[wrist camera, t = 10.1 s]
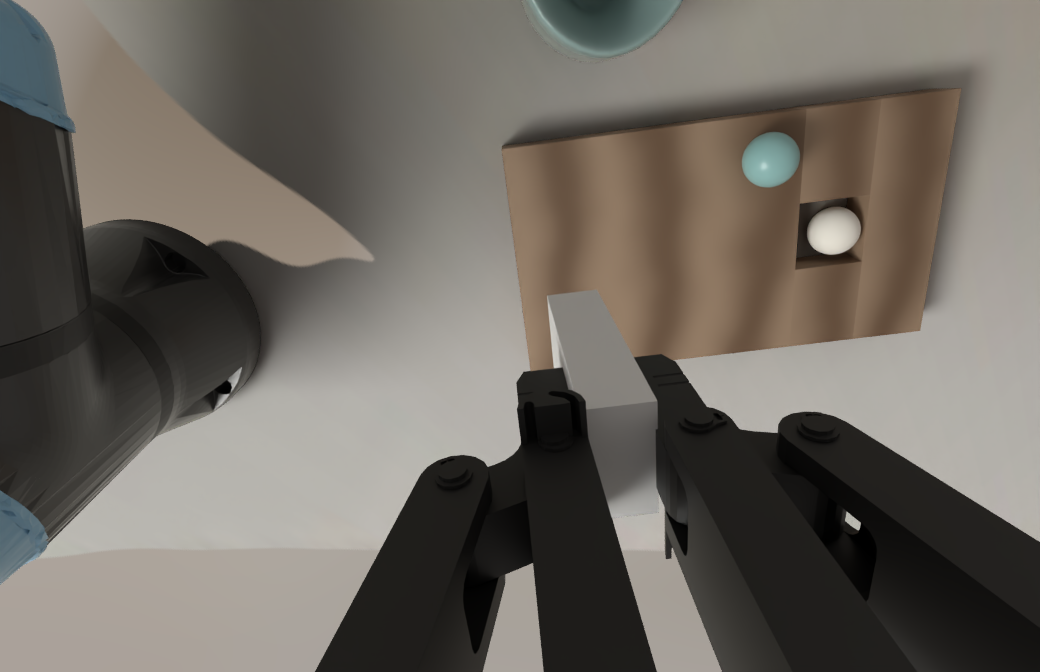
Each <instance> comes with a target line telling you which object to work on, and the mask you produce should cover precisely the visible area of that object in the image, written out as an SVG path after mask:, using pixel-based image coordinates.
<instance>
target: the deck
mask: <svg viewBox="0 0 1040 672" xmlns="http://www.w3.org/2000/svg"><path fill="white" fill-rule="evenodd" d="M960 93H961V88H951V89H927V90H920V91H912V92H904V93H897V94H889V95H882V96H874V97H867V98H859V99H852V100H844V101H837V102H829V103H822V104H814V105H807V106H799V107H792V108H784V109H777V110H769V111H762V112H754V113H746V114H739V115H731V116H724V117H716V118H709V119H701V120H694V121H686V122H679V123H671V124H664V125H656V126H649V127H641V128H634V129H626V130H619V131H611V132H604V133H596V134H588V135H581V136H573V137H566V138H558V139H551V140H543V141H536V142H528V143H521V144H513V145H506V146H502V156H503V163H504V171H505V178H506V186H507V194H508V201H509V209H510V217H511V224H512V232H513V239H514V247H515V255H516V262H517V270H518V278H519V285H520V293H521V300H522V308H523V316H524V323H525V331H526V339H527V346H528V354H529V361H530V369H531V371H536V370H544V369H552V368H554V365H553V354H552V344H551V333H550V322H549V312H548V301H547V296H548V295H556V294H564V293H573V292H581V291H589V290H597V291H598V293H599V294H600V296H601V298H602V300H603V302H604V304H605V305H606V307H607V309H608V311H609V313H610V315H611V316H612V318H613V320H614V322H615V324H616V326H617V327H618V329H619V331H620V333H621V335H622V337H623V339H624V340H625V342H626V344H627V346H628V348H629V350H630V351H631V353H632V355H633V357H640V356H649V355H657V354H662V355H664V356H666V357H668V358H669V359H671V360H678V359H686V358H695V357H703V356H712V355H720V354H729V353H737V352H745V351H754V350H762V349H771V348H779V347H787V346H796V345H804V344H813V343H821V342H830V341H838V340H846V339H855V338H863V337H872V336H880V335H888V334H897V333H905V332H914V331H920V328H921V322H922V316H923V310H924V304H925V298H926V292H927V287H928V281H929V275H930V269H931V263H932V257H933V251H934V246H935V240H936V234H937V228H938V222H939V216H940V211H941V205H942V199H943V193H944V187H945V181H946V175H947V170H948V164H949V158H950V152H951V146H952V140H953V134H954V129H955V123H956V117H957V111H958V105H959V99H960ZM768 132H780V133H784V134H787V135H788V136H790V137H791V138H792V139H793V140H794V141H795V142H796V144H797V145H798V148H799V151H800V161H799V165H798V168H797V170H796V171H795V173H794V174H793V176H792V177H791V178H790V179H789V180H787V181H786V182H784V183H783V184H781V185H778V186H775V187H760V186H757V185H755V184H753V183H752V182H750V181H749V180H748V179H747V178H746V176H745V174H744V172H743V169H742V157H743V154H744V151H745V149H746V147H747V146H748V145H749V143H750V142H751V141H752V140H754V139H755V138H756V137H758V136H760V135H762V134H765V133H768ZM840 198H848V200H847V209H848V210H850V211H852V212H853V213H854V214H855V215H856V216H857V217H858V219H859V221H860V225H861V232H860V236H859V238H858V240H857V242H856V243H855V244H854V245H853V246H852V247H851V248H850V249H849V250H847V251H845V252H843V253H840V254H834V255H829V254H823V255H815V256H807V257H799V258H796V251H797V237H798V223H799V209H800V204H801V203H809V202H816V201H824V200H832V199H840Z"/></svg>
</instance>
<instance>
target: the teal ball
mask: <svg viewBox="0 0 1040 672" xmlns="http://www.w3.org/2000/svg"><path fill="white" fill-rule="evenodd" d="M799 161H800V151H799V148H798V145H797V144H796V142H795V141H794V140H793V139H792V138H791V137H790V136H788V135H787V134H784V133H780V132H768V133H765V134H762V135H760V136H758V137H756V138H755V139H754V140H752V141H751V142H750V143H749V145H748V146H747V147H746V149H745V151H744V154H743V157H742V169H743V172H744V174H745V176H746V178H747V179H748V180H749V181H750V182H752V183H753V184H755V185H757V186H760V187H775V186H778V185H781V184H783V183H784V182H786V181H787V180H789V179H790V178H791V177H792V176H793V174H794V173H795V171H796V170H797V168H798V165H799Z"/></svg>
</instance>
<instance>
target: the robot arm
mask: <svg viewBox="0 0 1040 672" xmlns="http://www.w3.org/2000/svg"><path fill="white" fill-rule="evenodd" d="M75 132H76V131H75V125H74V123H73V121H72V120H71V119H70V118H69V117H68V115H67V111H66V107H65V102H64V96H63V92H62V86H61V80H60V75H59V70H58V64H57V59H56V54H55V50H54V46H53V44H52V41H51V39H50V37H49V36H48V34H47V32H46V31H45V29H44V28H43V26H42V25H41V24H40V23H39V22H38V21H37V19H36V18H35V17H34V16H33V15H31V14H30V13H29V12H28V11H27V10H25V9H24V8H23V7H21V6H20V5H18V4H17V3H16V2H14V1H12V0H0V585H1V584H2V583H3V582H4V581H5V580H6V579H8V578H9V577H10V576H11V575H12V574H13V573H14V572H16V571H17V570H18V569H19V568H20V567H21V566H23V565H24V564H27V563H28V562H30V561H32V560H35V559H36V558H38V557H39V556H40V555H41V554H42V553H43V552H44V550H45V549H46V547H47V545H48V544H49V543H50V542H51V541H52V540H53V539H54V538H55V537H56V536H57V535H58V534H59V533H60V532H61V531H62V530H63V529H64V528H65V527H66V526H67V525H68V524H69V523H70V522H71V521H72V520H73V519H74V518H75V517H76V516H77V515H78V514H79V513H80V512H81V511H82V510H83V509H84V508H85V507H86V506H87V505H88V504H89V503H90V502H91V501H92V500H93V499H94V498H95V497H96V496H97V495H98V494H99V493H100V492H101V491H102V490H103V489H104V488H105V487H106V486H107V485H108V484H109V483H110V482H111V481H112V480H113V479H114V478H115V477H116V476H117V475H118V474H119V473H120V472H121V471H122V470H123V469H124V468H125V467H126V466H127V465H128V464H129V463H130V462H131V461H132V460H133V459H134V458H135V457H136V456H137V455H138V454H139V453H140V452H141V451H142V450H143V449H144V448H145V447H146V446H147V445H148V444H149V443H150V442H151V441H152V440H153V439H154V438H155V437H156V436H158V435H160V434H163V433H165V432H168V431H170V430H172V429H175V428H177V427H180V426H182V425H185V424H187V423H190V422H192V421H195V420H197V419H200V418H202V417H205V416H207V415H209V414H210V413H212V412H214V411H215V410H217V409H218V408H220V407H221V406H223V405H224V404H225V403H226V402H227V401H229V400H230V399H231V397H232V396H233V395H234V394H235V393H236V392H237V391H238V390H239V389H240V388H241V387H242V386H243V385H244V383H245V382H246V381H247V380H248V378H249V377H250V375H251V373H252V371H253V370H254V367H255V365H256V362H257V359H258V355H259V351H260V339H261V337H260V325H259V320H258V316H257V312H256V309H255V306H254V303H253V301H252V299H251V297H250V295H249V293H248V291H247V289H246V287H245V286H244V284H243V283H242V281H241V280H240V278H239V277H238V276H237V274H236V273H235V272H234V271H233V269H232V268H231V267H230V266H229V265H228V264H227V263H226V262H225V261H224V260H223V259H222V258H221V257H220V256H219V255H218V254H216V253H215V252H214V251H213V250H212V249H210V248H209V247H207V246H206V245H205V244H203V243H201V242H200V241H199V240H197V239H195V238H193V237H192V236H190V235H188V234H186V233H184V232H182V231H179V230H177V229H174V228H172V227H169V226H166V225H162V224H159V223H155V222H150V221H143V220H131V219H129V220H113V221H107V222H103V223H99V224H96V225H93V226H90V227H86V228H83V225H82V217H81V209H80V201H79V192H78V184H77V176H76V167H75V159H74V151H73V143H72V135H71V133H75ZM547 301H548V312H549V322H550V333H551V344H552V354H553V365H554V368H552V369H544V370H536V371H527V372H523V374H522V375H521V377H520V378H519V380H518V381H517V393H518V408H517V413H518V420H519V428H520V436H521V445H520V447H519V449H518V450H517V451H516V452H515V453H514V454H513V455H512V456H511V457H509V458H508V459H506V460H505V461H502V462H500V463H498V464H496V465H493V466H490V467H487V466H486V464H485V463H484V461H482V460H480V459H478V458H476V457H472V456H466V455H459V456H450V457H447V458H444V459H441V460H438V461H436V462H435V463H433V464H431V465H430V466H428V467H427V468H426V469H425V470H424V472H423V473H422V474H421V475H420V477H419V479H418V481H417V482H416V484H415V486H414V488H413V490H412V492H411V494H410V496H409V497H408V499H407V501H406V503H405V505H404V507H403V509H402V510H401V512H400V514H399V516H398V518H397V520H396V522H395V524H394V525H393V527H392V529H391V531H390V533H389V535H388V537H387V538H386V540H385V542H384V544H383V546H382V548H381V550H380V552H379V553H378V555H377V557H376V559H375V561H374V563H373V565H372V566H371V568H370V570H369V572H368V574H367V576H366V578H365V580H364V581H363V583H362V585H361V587H360V589H359V591H358V593H357V595H356V596H355V598H354V600H353V602H352V604H351V606H350V607H349V609H348V611H347V613H346V615H345V617H344V619H343V621H342V622H341V624H340V626H339V628H338V630H337V632H336V634H335V635H334V637H333V639H332V641H331V643H330V645H329V647H328V649H327V650H326V652H325V654H324V656H323V658H322V660H321V662H320V663H319V665H318V667H317V669H316V671H315V672H483V668H484V664H485V660H486V656H487V652H488V648H489V644H490V640H491V636H492V632H493V629H494V625H495V621H496V617H497V613H498V609H499V605H500V601H501V597H502V593H503V590H504V586H505V574H507V573H510V572H512V571H514V570H517V569H519V568H522V567H524V566H527V565H529V564H531V563H533V566H534V576H535V586H536V596H537V606H538V617H539V627H540V636H541V648H542V658H543V667H544V672H657V671H656V668H655V664H654V661H653V657H652V654H651V651H650V647H649V644H648V640H647V637H646V633H645V630H644V626H643V623H642V620H641V616H640V613H639V610H638V606H637V602H636V599H635V596H634V592H633V589H632V586H631V582H630V579H629V575H628V572H627V568H626V565H625V561H624V558H623V555H622V551H621V548H620V544H619V541H618V537H617V534H616V531H615V527H614V524H613V520H612V518H619V517H628V516H636V515H644V514H653V513H659V499H658V493H659V495H660V497H661V500H662V502H663V504H664V507H665V555H666V559H670V558H671V549H672V547H673V550H674V552H675V555H676V557H677V559H678V562H679V565H680V567H681V570H682V572H683V574H684V577H685V580H686V582H687V585H688V587H689V590H690V592H691V595H692V597H693V599H694V602H695V604H696V607H697V610H698V612H699V615H700V617H701V619H702V622H703V624H704V627H705V629H706V632H707V635H708V637H709V640H710V642H711V645H712V647H713V650H714V652H715V655H716V657H717V660H718V662H719V665H720V667H721V670H722V672H1040V542H1039V541H1037V540H1035V539H1034V538H1032V537H1031V536H1029V535H1027V534H1026V533H1024V532H1023V531H1021V530H1019V529H1018V528H1016V527H1015V526H1013V525H1011V524H1010V523H1008V522H1006V521H1005V520H1003V519H1002V518H1000V517H998V516H997V515H995V514H994V513H992V512H990V511H989V510H987V509H986V508H984V507H982V506H981V505H979V504H978V503H976V502H974V501H973V500H971V499H969V498H968V497H966V496H965V495H963V494H961V493H960V492H958V491H957V490H955V489H953V488H952V487H950V486H949V485H947V484H945V483H944V482H942V481H941V480H939V479H937V478H936V477H934V476H932V475H931V474H929V473H928V472H926V471H924V470H923V469H921V468H920V467H918V466H916V465H915V464H913V463H912V462H910V461H908V460H907V459H905V458H904V457H902V456H900V455H899V454H897V453H895V452H894V451H892V450H891V449H889V448H887V447H886V446H884V445H883V444H881V443H879V442H878V441H876V440H875V439H873V438H871V437H870V436H868V435H867V434H865V433H863V432H862V431H860V430H858V429H857V428H855V427H854V426H852V425H850V424H849V423H847V422H845V421H843V420H841V419H839V418H837V417H834V416H831V415H827V414H823V413H819V412H800V413H793V414H790V415H788V416H786V417H784V418H782V420H781V421H780V423H779V424H778V433H768V432H754V431H747V430H741V429H739V428H738V427H737V426H736V424H735V423H734V421H733V420H732V419H731V418H730V417H729V416H728V415H726V414H725V413H724V412H721V411H719V410H716V409H714V408H709V407H706V405H705V404H704V402H703V401H702V399H701V398H700V397H699V395H698V394H697V392H696V391H695V389H694V388H693V386H692V385H691V383H689V381H688V379H687V378H686V376H685V375H684V374H683V372H682V370H681V369H680V367H679V366H678V365H677V363H676V362H675V361H673V360H671V359H669V358H668V357H666V356H664V355H662V354H657V355H649V356H640V357H633V355H632V353H631V351H630V350H629V348H628V346H627V344H626V342H625V340H624V339H623V337H622V335H621V333H620V331H619V329H618V327H617V326H616V324H615V322H614V320H613V318H612V316H611V315H610V313H609V311H608V309H607V307H606V305H605V304H604V302H603V300H602V298H601V296H600V294H599V293H598V291H597V290H589V291H581V292H573V293H564V294H556V295H548V296H547ZM846 511H847V512H848V513H850V514H851V515H852V516H853V517H855V518H856V519H857V520H858V521H860V522H861V526H860V530H859V531H858V530H856V529H855V528H853V527H852V526H850V525H849V524H848V523H847V522H845V517H846Z"/></svg>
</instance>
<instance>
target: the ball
mask: <svg viewBox="0 0 1040 672" xmlns="http://www.w3.org/2000/svg"><path fill="white" fill-rule="evenodd" d="M860 232H861V225H860V221H859V219H858V217H857V216H856V215H855V214H854V213H853V212H852V211H850V210H848V209H846V208H843V207H829V208H826V209H824V210H822V211H820V212H818V213H817V214H816V215H815V216H814V217H813V218H812V219H811V221H810V222H809V225H808V228H807V238H808V241H809V243H810V244H811V246H812V247H813V248H814V249H815V250H817V251H818V252H820V253H823V254H829V255H834V254H840V253H843V252H845V251H847V250H849V249H850V248H851V247H852V246H853V245H854V244H855V243H856V242H857V240H858V238H859V236H860Z"/></svg>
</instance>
